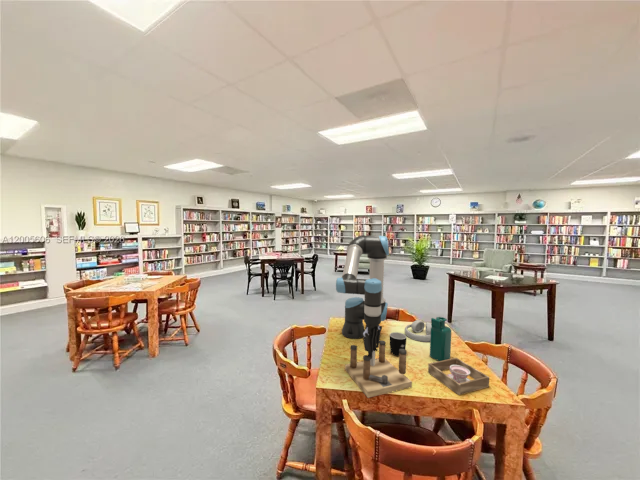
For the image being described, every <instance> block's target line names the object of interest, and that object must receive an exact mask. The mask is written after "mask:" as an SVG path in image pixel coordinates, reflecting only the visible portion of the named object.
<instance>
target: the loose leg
mask: <svg viewBox="0 0 640 480" xmlns="http://www.w3.org/2000/svg"><path fill="white" fill-rule="evenodd" d="M407 351H408V350H406V348H405V349H399V356H398V370H399V373H400V374H404V375H405V374H407V373H406V372H407V354H408V353H407Z"/></svg>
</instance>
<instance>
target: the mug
mask: <svg viewBox="0 0 640 480" xmlns="http://www.w3.org/2000/svg"><path fill="white" fill-rule="evenodd" d="M406 345H407V335H406V334H405V333H402V332H397V331H395V332H391V333H389V348H390V352H391V354H392V355H393V356H397V357H399V349H405V350H406V348H407V346H406Z"/></svg>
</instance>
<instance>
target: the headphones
mask: <svg viewBox="0 0 640 480" xmlns="http://www.w3.org/2000/svg"><path fill="white" fill-rule="evenodd" d="M431 327H432V326H431V322H424V321H423V320H421V319H415V321H412V323H410V324H408V325H406V326H405V327H404V335H406V337H407V338H409V339H411V340H413V341H417V342H423V343H425V342H426V343H430V333H431ZM409 328H411V330H412V331H413V332H412V331H409V330H408V329H409ZM424 329H425V334H426V335H425V334H424V335H421V334H416V333H421V332H423V330H424ZM414 332H415V333H414Z"/></svg>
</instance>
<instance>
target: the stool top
mask: <svg viewBox="0 0 640 480" xmlns="http://www.w3.org/2000/svg"><path fill="white" fill-rule="evenodd" d="M386 343H387V342H386V341H385V340H381V339H380V340H379V347H378V358H375V365H374V366H372V365H370V375H374V376H378V377H382V376H383V375H386V376H387V377H388V383H387V384H384V383H382V382H378V381H374V380H370V379H369V380H365V379H364V378H363V360H362V361H358V359H357V357H358V355H357V354H358V346H357V345H356V344H351V345H350V362H349V363H347V364H344V370H345V372H346V373H347V374H348V375H349V377H351V379H352V380H353V381H354V382H355V384H356V385H357V387H359V389H360V390H361V391H362V393H363V394H364V396H366V398H367V399H369V398H373V397H376V396H381V395H385V394H389V393H388V392H390V393H393V392H392V391H394V392H397V391H396V390H398V391H401V390H400V389H402V390H405V389H404V388H406V389H409V387H410V388H412V387H413V381H412V380H411V379H410V378H409V377H407V376H406V375H405V374H400V373H399V368H397V367H396V366H394V364H392V363H391V361H388V360H387V358H386Z"/></svg>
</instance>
